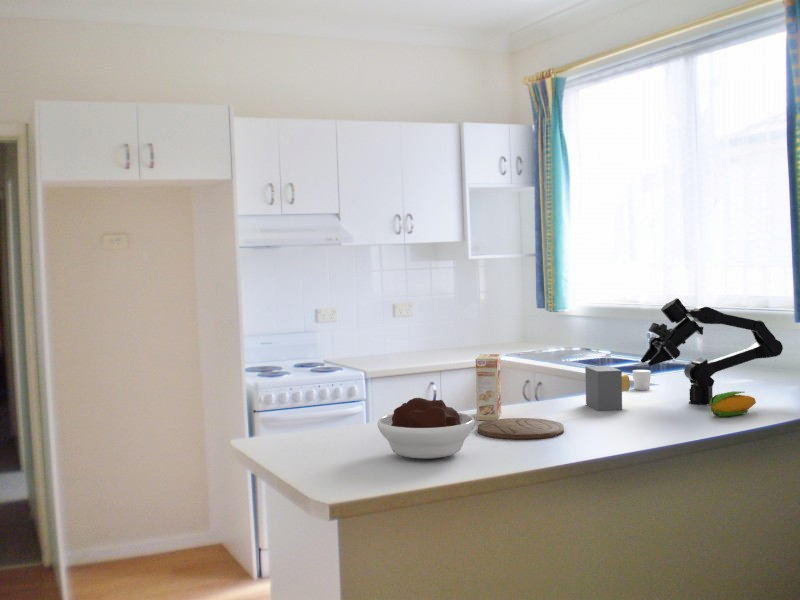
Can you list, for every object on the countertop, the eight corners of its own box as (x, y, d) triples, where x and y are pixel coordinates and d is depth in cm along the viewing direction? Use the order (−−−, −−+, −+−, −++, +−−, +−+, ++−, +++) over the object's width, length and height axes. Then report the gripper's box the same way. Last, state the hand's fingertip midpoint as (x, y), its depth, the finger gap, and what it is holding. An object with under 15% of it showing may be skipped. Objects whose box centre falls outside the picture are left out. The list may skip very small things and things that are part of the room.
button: (623, 390, 281) (623, 372, 281) (629, 392, 275) (629, 374, 275) (606, 390, 280) (605, 373, 280) (612, 393, 274) (612, 375, 274)
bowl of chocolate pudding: (443, 441, 230) (441, 387, 229) (494, 458, 208) (493, 399, 207) (362, 453, 218) (360, 396, 218) (407, 472, 196) (406, 409, 196)
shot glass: (629, 388, 318) (628, 370, 318) (644, 386, 320) (644, 368, 320) (639, 390, 311) (639, 372, 311) (655, 389, 313) (654, 370, 313)
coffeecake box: (498, 420, 258) (497, 358, 257) (475, 420, 260) (474, 358, 259) (502, 412, 273) (501, 353, 272) (480, 412, 274) (479, 353, 273)
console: (608, 403, 284) (608, 365, 284) (622, 409, 271) (621, 370, 271) (586, 404, 284) (585, 366, 283) (598, 410, 271) (597, 371, 270)
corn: (702, 392, 256) (744, 385, 266) (701, 416, 257) (742, 408, 267) (723, 396, 250) (764, 389, 260) (721, 421, 251) (763, 413, 261)
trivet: (496, 444, 226) (496, 437, 226) (465, 427, 250) (465, 421, 250) (579, 437, 233) (579, 430, 233) (541, 421, 257) (541, 415, 257)
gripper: (657, 313, 289) (623, 342, 290) (673, 316, 270) (636, 347, 271) (678, 337, 289) (643, 366, 290) (695, 342, 270) (658, 373, 271)
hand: (645, 363), depth 280 cm, fingers open, 9 cm apart
